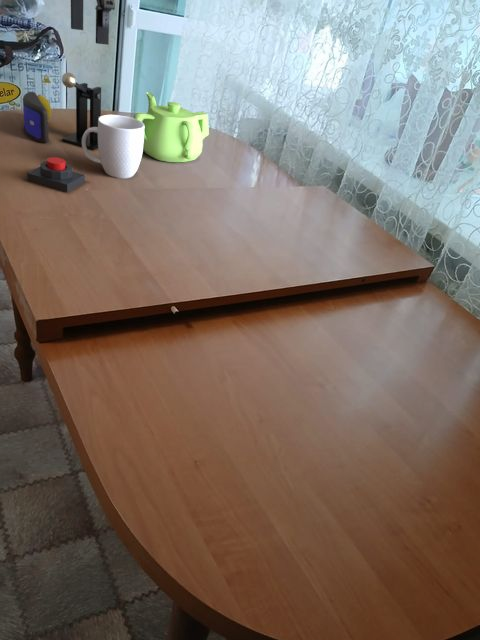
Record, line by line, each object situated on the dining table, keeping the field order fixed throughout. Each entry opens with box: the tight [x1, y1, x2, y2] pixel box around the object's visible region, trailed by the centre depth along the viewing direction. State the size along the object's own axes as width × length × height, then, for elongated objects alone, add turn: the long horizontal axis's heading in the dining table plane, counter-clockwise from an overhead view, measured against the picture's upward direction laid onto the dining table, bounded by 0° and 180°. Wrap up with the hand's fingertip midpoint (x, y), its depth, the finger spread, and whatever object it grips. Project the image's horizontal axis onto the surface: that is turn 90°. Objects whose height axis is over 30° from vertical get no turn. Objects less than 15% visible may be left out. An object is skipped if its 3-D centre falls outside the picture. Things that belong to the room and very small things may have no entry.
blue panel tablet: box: [22, 91, 49, 144], centre depth 147 cm, size 16×5×9 cm, turn 28°
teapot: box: [133, 91, 210, 163], centre depth 154 cm, size 19×20×14 cm
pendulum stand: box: [62, 82, 102, 151], centre depth 149 cm, size 12×9×15 cm
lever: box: [61, 72, 92, 100], centre depth 141 cm, size 14×3×3 cm, turn 165°
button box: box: [26, 160, 86, 193], centre depth 127 cm, size 10×8×4 cm
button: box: [46, 157, 66, 170], centre depth 126 cm, size 4×4×2 cm
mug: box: [81, 114, 144, 179], centre depth 136 cm, size 15×11×13 cm
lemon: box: [37, 93, 52, 121], centre depth 156 cm, size 6×6×8 cm
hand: (89, 36), depth 126 cm, fingers open, 13 cm apart
